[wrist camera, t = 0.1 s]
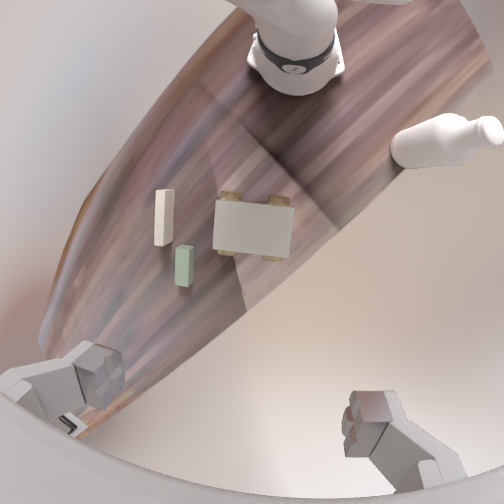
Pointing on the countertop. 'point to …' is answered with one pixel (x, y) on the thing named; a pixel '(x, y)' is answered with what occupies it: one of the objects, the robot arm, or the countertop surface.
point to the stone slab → (253, 228)
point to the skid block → (184, 265)
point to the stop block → (164, 217)
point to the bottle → (445, 141)
